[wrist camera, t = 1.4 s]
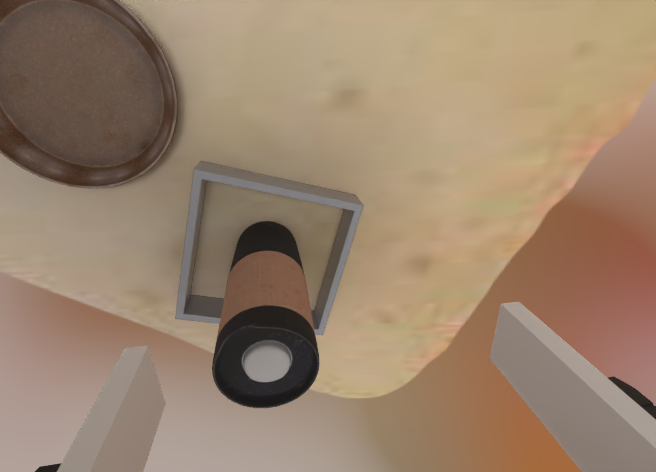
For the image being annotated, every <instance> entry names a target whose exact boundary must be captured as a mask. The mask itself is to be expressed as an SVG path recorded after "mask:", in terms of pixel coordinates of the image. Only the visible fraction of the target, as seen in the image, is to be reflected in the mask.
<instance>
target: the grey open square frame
mask: <svg viewBox="0 0 656 472" xmlns="http://www.w3.org/2000/svg"><path fill="white" fill-rule="evenodd" d="M207 180H208V181H213V182H218V183H223V184H228V185H232V186H237V187H242V188H247V189H252V190H256V191H261V192H266V193H271V194H276V195H280V196H285V197H290V198H295V199H300V200H304V201H309V202H314V203H319V204H324V205H328V206H333V207H338V208H343V209H344V212H343V215H342V219H341V222H340V225H339V229H338V232H337V236H336V239H335V242H334V246H333V249H332V253H331V256H330V259H329V263H328V266H327V270H326V273H325V276H324V280H323V283H322V287H321V290H320V294H319V297H318V300H317V304H316V307H315V311H313V310H311V314H312V320H313V325H314V331H315V335H323V333H324V330H325V327H326V324H327V321H328V317H329V314H330V311H331V308H332V305H333V302H334V298H335V295H336V292H337V289H338V286H339V282H340V279H341V276H342V273H343V270H344V266H345V263H346V260H347V257H348V254H349V250H350V247H351V244H352V241H353V238H354V234H355V231H356V228H357V225H358V222H359V219H360V215H361V212H362V209H363V206H364V205H363V204H362V203H361V202H360V200H359V199H358V198H357V197H356V195H353V194H348V193H344V192H339V191H335V190H330V189H326V188H321V187H317V186H312V185H307V184H303V183H298V182H294V181H289V180H285V179H280V178H276V177H271V176H267V175H262V174H258V173H253V172H248V171H244V170H239V169H235V168H230V167H226V166H221V165H217V164H212V163H208V162H203V161H201V162H200V163H199V164H198V165H197V167H196V168H195V169H194V174H193V182H192V190H191V198H190V206H189V214H188V222H187V230H186V238H185V245H184V253H183V261H182V269H181V277H180V285H179V293H178V301H177V309H176V317H175V319H181V320H190V321H199V322H208V323H217V324H220V320H221V314H222V309H223V303H224V299H220V298H212V297H205V296H197V295H190V294H191V287H192V280H193V273H194V266H195V259H196V252H197V245H198V237H199V230H200V223H201V216H202V209H203V202H204V195H205V188H206V181H207Z"/></svg>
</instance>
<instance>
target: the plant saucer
mask: <svg viewBox="0 0 656 472" xmlns="http://www.w3.org/2000/svg"><path fill="white" fill-rule="evenodd" d="M176 117H177V99H176V91H175V86H174V81H173V77H172V74H171V71H170V68H169V66H168V63H167V61H166V59H165V57H164V54H163V52H162V51H161V49H160V47H159V45H158V44H157V42H156V40H155V39H154V37H153V36H152V34H151V33H150V32H149V30H148V29H147V28H146V27H145V25H144V24H143V23H142V22H141V21H140V20H139V19H138V18H137V17H136V16H135V15H134V13H133V12H131V11H130V10H129V9H128V8H127V7H126V6H125V5H124V4H122V3H121V2H120V1H119V0H0V153H1V154H3V155H4V156H5V157H7V158H8V159H9V160H11V161H12V162H14V163H15V164H17V165H18V166H20V167H21V168H23V169H25V170H27V171H29V172H31V173H33V174H35V175H37V176H39V177H41V178H44V179H47V180H49V181H52V182H55V183H59V184H63V185H67V186H72V187H80V188H105V187H112V186H116V185H120V184H123V183H126V182H128V181H131V180H133V179H135V178H137V177H139V176H141V175H142V174H144V173H145V172H146V171H148V170H149V169H150V168H151V167H152V166H154V165H155V163H156V162H157V161H158V160H159V159H160V157H161V156H162V155H163V153H164V152H165V150H166V149H167V147H168V145H169V143H170V141H171V138H172V136H173V132H174V129H175V124H176Z"/></svg>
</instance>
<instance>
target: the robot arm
mask: <svg viewBox="0 0 656 472" xmlns="http://www.w3.org/2000/svg"><path fill="white" fill-rule="evenodd" d="M490 359H491V361H492V362H493V363H494V364H495V366H496V367H497V368H498V369H499V370H500V372H501V373H502V374H503V375H504V377H505V378H506V379H507V380H508V381H509V383H510V384H511V385H512V386H513V388H514V389H515V390H516V391H517V393H518V394H519V395H520V396H521V397H522V399H523V400H524V401H525V402H526V404H527V405H528V406H529V407H530V409H531V410H532V411H533V412H534V413H535V415H536V416H537V417H538V418H539V420H540V421H541V422H542V423H543V425H544V426H545V427H546V428H547V429H548V431H549V432H550V433H551V434H552V436H553V437H554V438H555V439H556V440H557V442H558V443H559V444H560V445H561V447H562V448H563V449H564V450H565V452H566V453H567V454H568V455H569V457H570V458H571V459H572V460H573V461H574V463H575V464H576V465H577V466H578V468H579V469H580V470H581V471H582V472H656V406H654V405H653V403H652V402H651V401H650V400H648V399H647V398H646V397H645V396H643V395H642V394H641V393H640V392H639V391H638V390H636V389H635V388H633V387H632V386H630V385H628V384H626V383H624V382H623V381H621V380H619V379H617V378H615V377H609V378H607V377H606V376H604V375H603V374H602V373H601V372H600V371H599V370H598V369H596V368H595V367H594V366H593V365H592V364H590V363H589V362H588V361H587V360H586V359H585V358H584V357H582V356H581V355H580V354H579V353H578V352H577V351H575V350H574V349H573V348H572V347H571V346H570V345H568V344H567V343H566V342H565V341H564V340H563V339H562V338H560V337H559V336H558V335H557V334H556V333H554V332H553V331H552V330H551V329H550V328H549V327H548V326H546V325H545V324H544V323H543V322H542V321H540V320H539V319H538V318H537V317H536V316H535V315H534V314H532V313H531V312H530V311H529V310H528V309H527V308H525V307H524V306H523V305H522V304H521V303H520V302H513V303H505V304H501V307H500V312H499V317H498V321H497V326H496V330H495V335H494V341H493V345H492V350H491V354H490ZM164 406H165V400H164V397H163V394H162V390H161V387H160V383H159V380H158V376H157V373H156V369H155V366H154V362H153V359H152V355H151V352H150V349H149V345H147V346H138V347H130V348H125V349H124V351H123V353H122V354H121V356H120V358H119V360H118V361H117V363H116V365H115V367H114V369H113V371H112V373H111V374H110V376H109V378H108V380H107V381H106V383H105V385H104V387H103V389H102V391H101V392H100V394H99V396H98V398H97V400H96V402H95V403H94V405H93V407H92V409H91V411H90V413H89V414H88V416H87V418H86V420H85V422H84V423H83V425H82V427H81V429H80V431H79V432H78V434H77V436H76V438H75V440H74V441H73V444H72V445H71V447H70V449H69V451H68V452H67V454H66V456H65V458H64V460H63V462H62V463H61V464H55V465H48V466H42V467H39V468H38V469H37V470H36V471H35V472H143V471H144V468H145V464H146V462H147V459H148V455H149V452H150V449H151V446H152V443H153V440H154V437H155V434H156V431H157V428H158V425H159V421H160V418H161V415H162V412H163V409H164Z"/></svg>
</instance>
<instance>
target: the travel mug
mask: <svg viewBox="0 0 656 472" xmlns="http://www.w3.org/2000/svg"><path fill="white" fill-rule="evenodd" d="M318 370H319V353H318V348H317V342H316V337H315V331H314V325H313V320H312V314H311V308H310V303H309V297H308V291H307V286H306V280H305V276H304V271H303V268H302V264H301V260H300V256H299V252H298V248H297V245H296V241H295V239H294V237H293V235H292V234H291V232H290V231H289V230H288V229H287V228H285V227H284V226H282V225H280V224H278V223H275V222H259V223H256V224H253V225H251V226H250V227H248V228H247V229H246V230H245V231H244V232H243V233H242V235H241V236H240V238H239V240H238V243H237V247H236V250H235V254H234V258H233V262H232V265H231V269H230V273H229V277H228V281H227V287H226V292H225V298H224V303H223V309H222V314H221V320H220V325H219V331H218V336H217V342H216V347H215V353H214V358H213V366H212V371H213V378H214V381H215V383H216V386H217V387H218V389H219V390H220V392H221V393H222V394H223V395H225V396H226V397H227V398H228V399H230V400H231V401H233V402H235V403H237V404H240V405H243V406H247V407H253V408H270V407H277V406H280V405H283V404H286V403H289V402H291V401H293V400H295V399H297V398H298V397H300V396H301V395H302V394H304V393H305V392H306V391H307V390H308V389H309V388H310V387H311V385H312V384H313V382H314V381H315V379H316V376H317V374H318Z"/></svg>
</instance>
